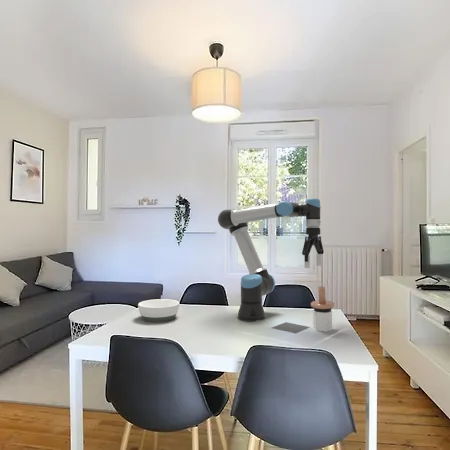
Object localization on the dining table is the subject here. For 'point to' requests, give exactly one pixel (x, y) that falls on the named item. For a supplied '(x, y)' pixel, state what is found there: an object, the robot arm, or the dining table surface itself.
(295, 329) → the mat
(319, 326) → the jar
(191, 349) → the dining table surface
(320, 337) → the dining table surface
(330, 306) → the orange post stand
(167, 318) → the bowl
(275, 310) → the dining table surface
